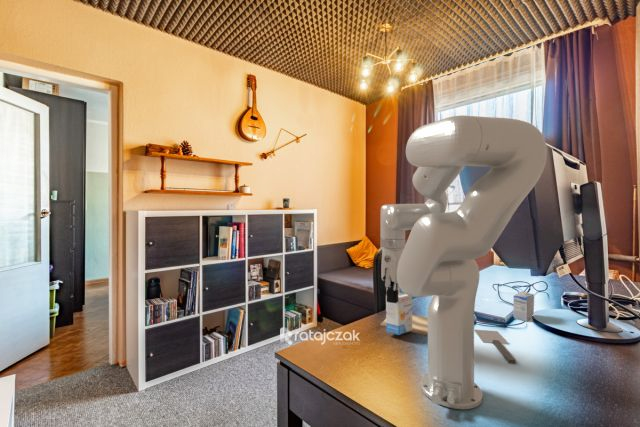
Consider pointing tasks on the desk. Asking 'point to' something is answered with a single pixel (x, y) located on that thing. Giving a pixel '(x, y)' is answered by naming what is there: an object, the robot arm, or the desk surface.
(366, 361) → the desk surface
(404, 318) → the ink box
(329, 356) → the desk surface
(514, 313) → the medicine box
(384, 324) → the cork mat
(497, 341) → the steel turner
